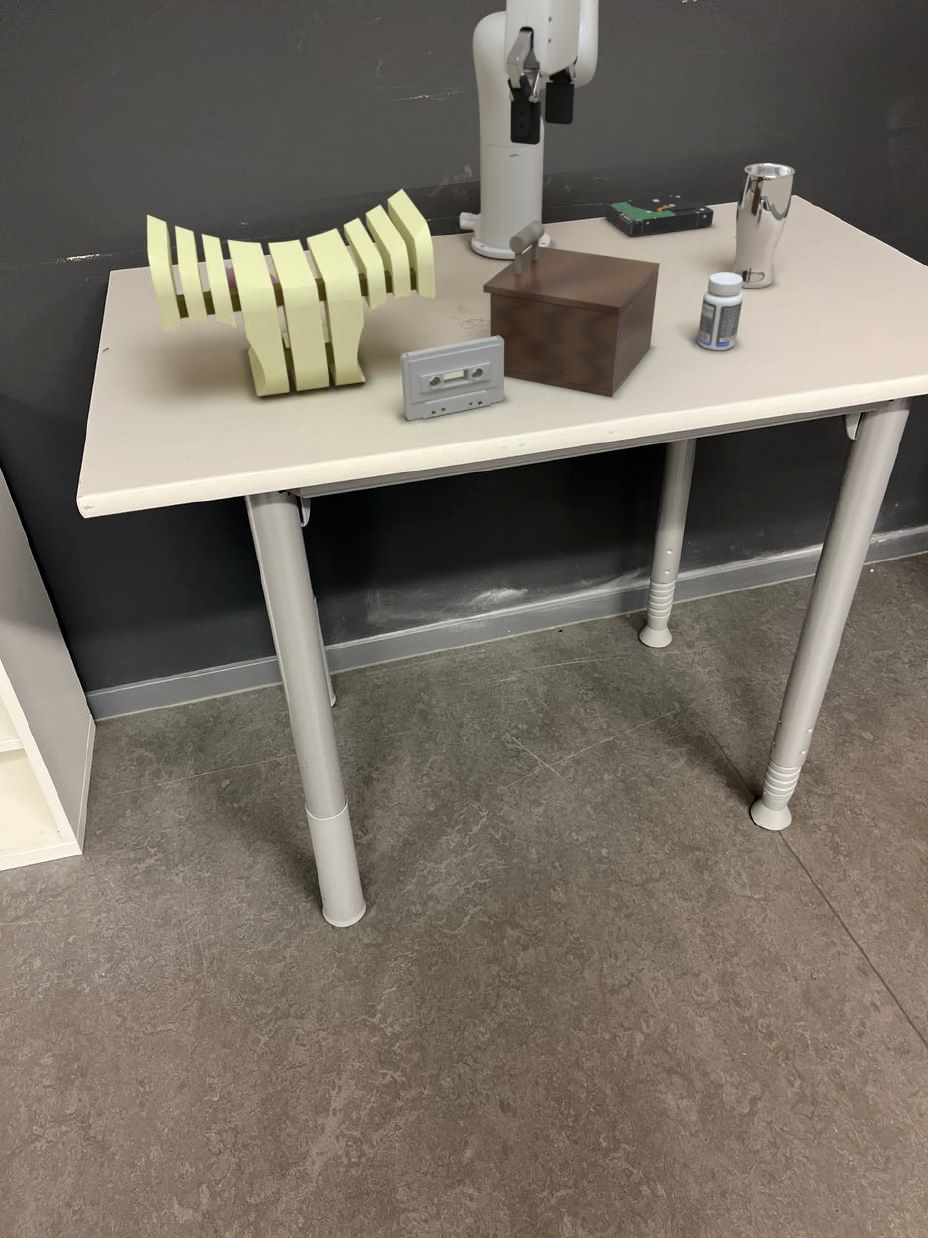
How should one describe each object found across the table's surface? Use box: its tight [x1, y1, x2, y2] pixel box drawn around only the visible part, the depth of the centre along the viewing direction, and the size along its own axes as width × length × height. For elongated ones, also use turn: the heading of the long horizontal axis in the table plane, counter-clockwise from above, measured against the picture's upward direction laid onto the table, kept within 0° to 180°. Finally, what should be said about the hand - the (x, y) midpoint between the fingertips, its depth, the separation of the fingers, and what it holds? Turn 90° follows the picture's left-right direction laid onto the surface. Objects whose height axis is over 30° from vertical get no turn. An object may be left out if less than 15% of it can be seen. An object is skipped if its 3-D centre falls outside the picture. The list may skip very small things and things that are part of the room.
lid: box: [482, 221, 661, 314], centre depth 107 cm, size 16×15×5 cm
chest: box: [489, 270, 660, 398], centre depth 112 cm, size 16×15×10 cm
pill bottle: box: [697, 271, 744, 351], centre depth 115 cm, size 5×5×8 cm
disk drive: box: [605, 193, 715, 236], centre depth 153 cm, size 10×3×15 cm
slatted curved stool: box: [146, 188, 437, 397], centre depth 109 cm, size 30×16×18 cm, turn 105°
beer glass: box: [729, 162, 796, 289], centre depth 129 cm, size 7×7×15 cm
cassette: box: [400, 335, 505, 421], centre depth 103 cm, size 12×2×8 cm, turn 112°
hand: (542, 132), depth 101 cm, fingers open, 9 cm apart
